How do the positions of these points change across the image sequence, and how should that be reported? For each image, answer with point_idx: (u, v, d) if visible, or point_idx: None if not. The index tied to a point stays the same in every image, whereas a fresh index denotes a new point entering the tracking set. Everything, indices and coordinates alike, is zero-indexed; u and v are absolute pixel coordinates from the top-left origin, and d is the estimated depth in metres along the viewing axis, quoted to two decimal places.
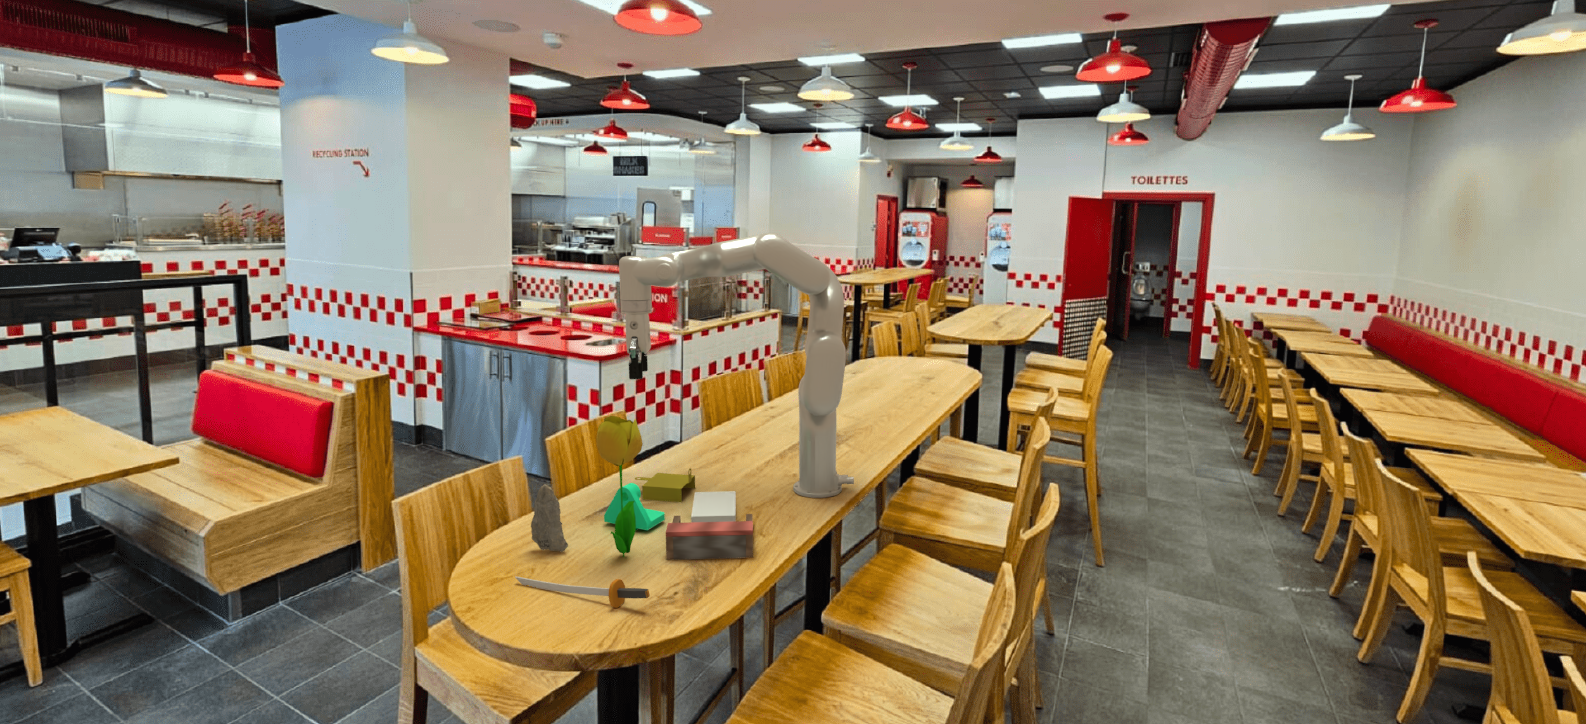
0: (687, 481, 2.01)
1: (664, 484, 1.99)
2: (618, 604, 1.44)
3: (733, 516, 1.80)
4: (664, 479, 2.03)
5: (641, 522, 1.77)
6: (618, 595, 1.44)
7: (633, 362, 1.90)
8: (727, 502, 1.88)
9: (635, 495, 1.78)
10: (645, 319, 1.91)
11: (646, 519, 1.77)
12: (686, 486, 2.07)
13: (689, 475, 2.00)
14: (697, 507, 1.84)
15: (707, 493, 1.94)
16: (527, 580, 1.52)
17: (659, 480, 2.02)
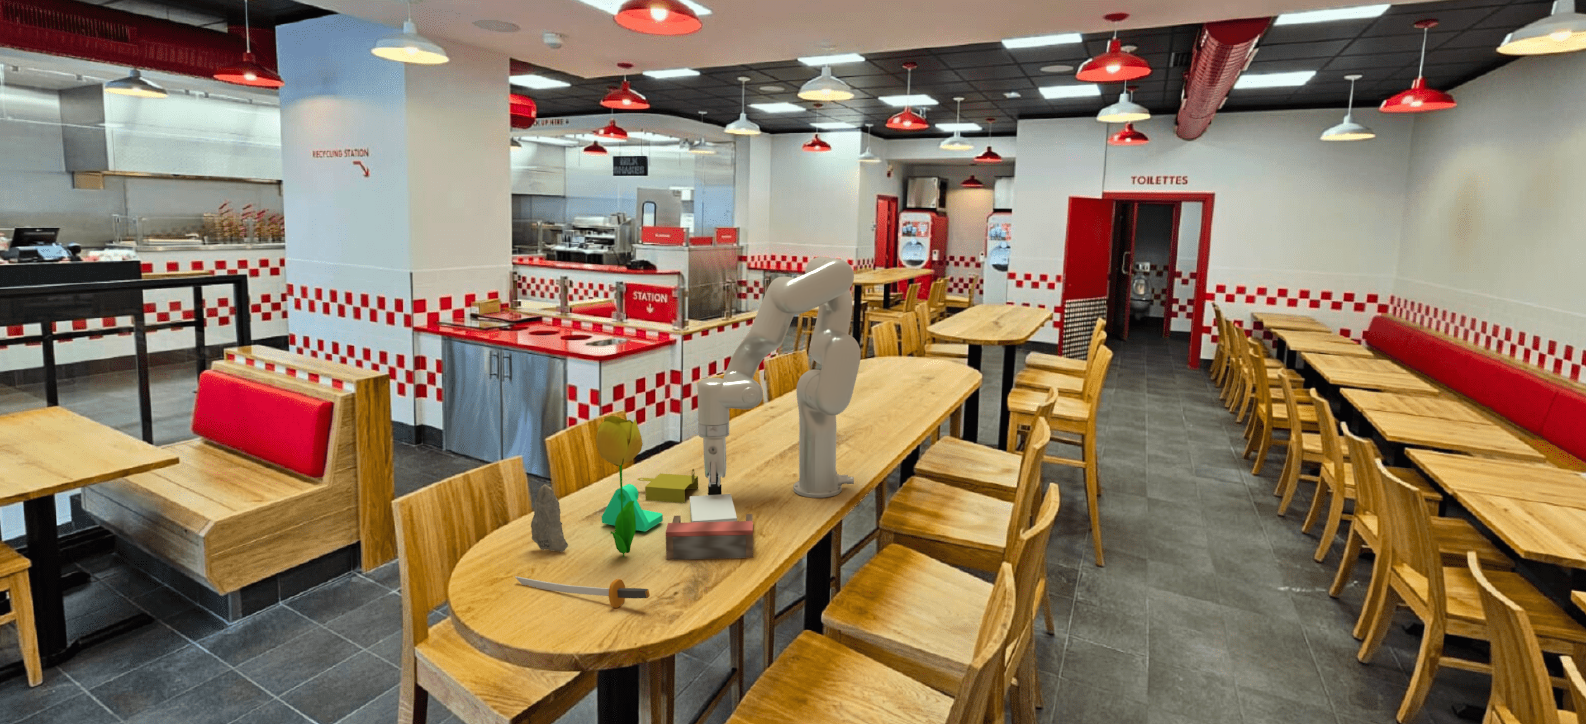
0: (690, 482, 2.01)
1: (667, 485, 1.98)
2: (618, 604, 1.44)
3: (735, 519, 1.78)
4: (667, 480, 2.02)
5: (639, 523, 1.76)
6: (618, 595, 1.44)
7: (713, 486, 1.93)
8: (725, 505, 1.86)
9: (633, 496, 1.77)
10: (723, 443, 1.90)
11: (644, 521, 1.76)
12: (689, 487, 2.06)
13: (692, 476, 2.00)
14: (696, 512, 1.82)
15: (702, 497, 1.91)
16: (527, 580, 1.52)
17: (662, 480, 2.02)
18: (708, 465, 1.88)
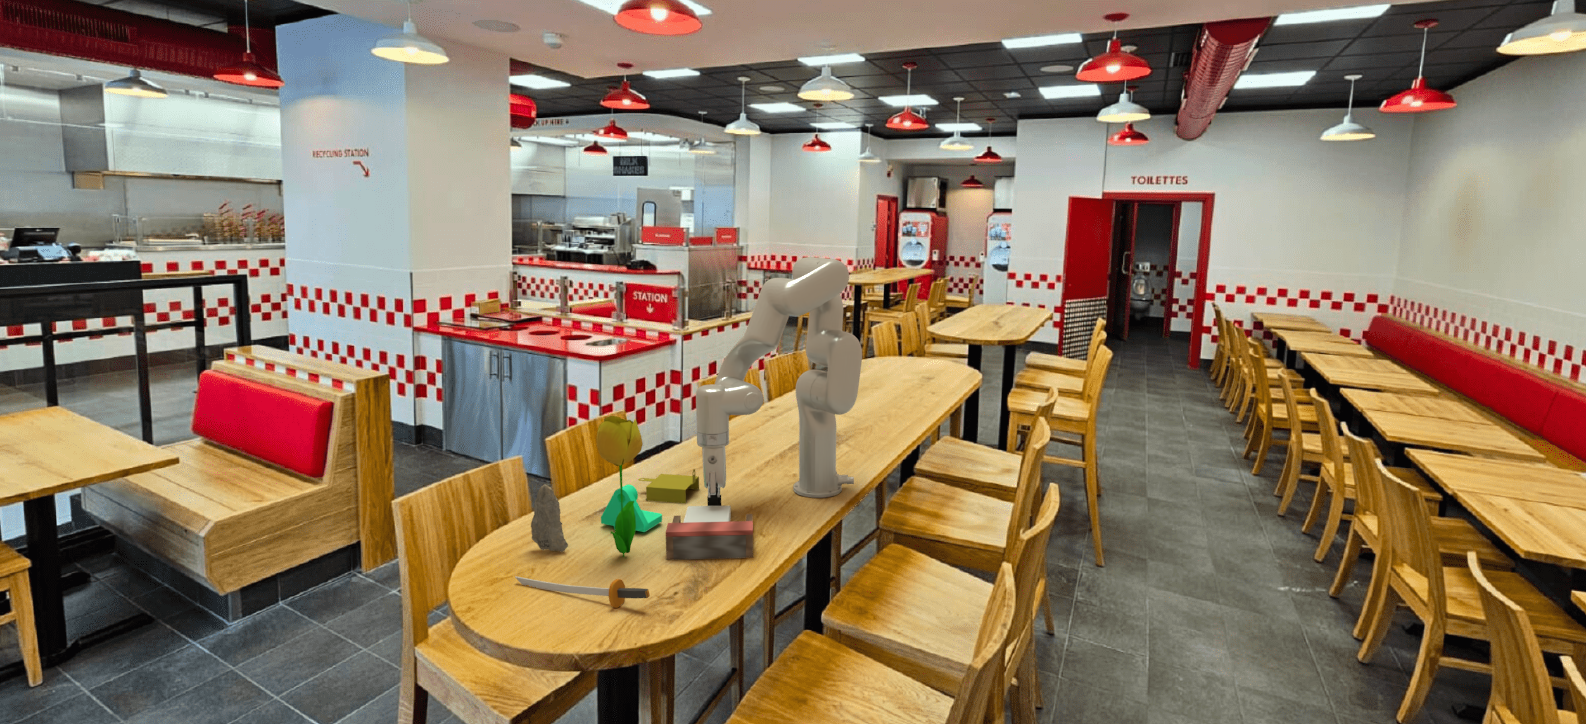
0: (691, 482, 2.00)
1: (668, 485, 1.98)
2: (618, 604, 1.44)
3: None
4: (667, 480, 2.02)
5: (638, 524, 1.76)
6: (618, 595, 1.44)
7: (712, 497, 1.86)
8: (720, 518, 1.78)
9: (632, 497, 1.77)
10: (723, 452, 1.83)
11: (643, 521, 1.76)
12: (690, 487, 2.06)
13: (693, 476, 1.99)
14: None
15: (700, 507, 1.85)
16: (527, 580, 1.52)
17: (663, 481, 2.01)
18: (707, 475, 1.81)
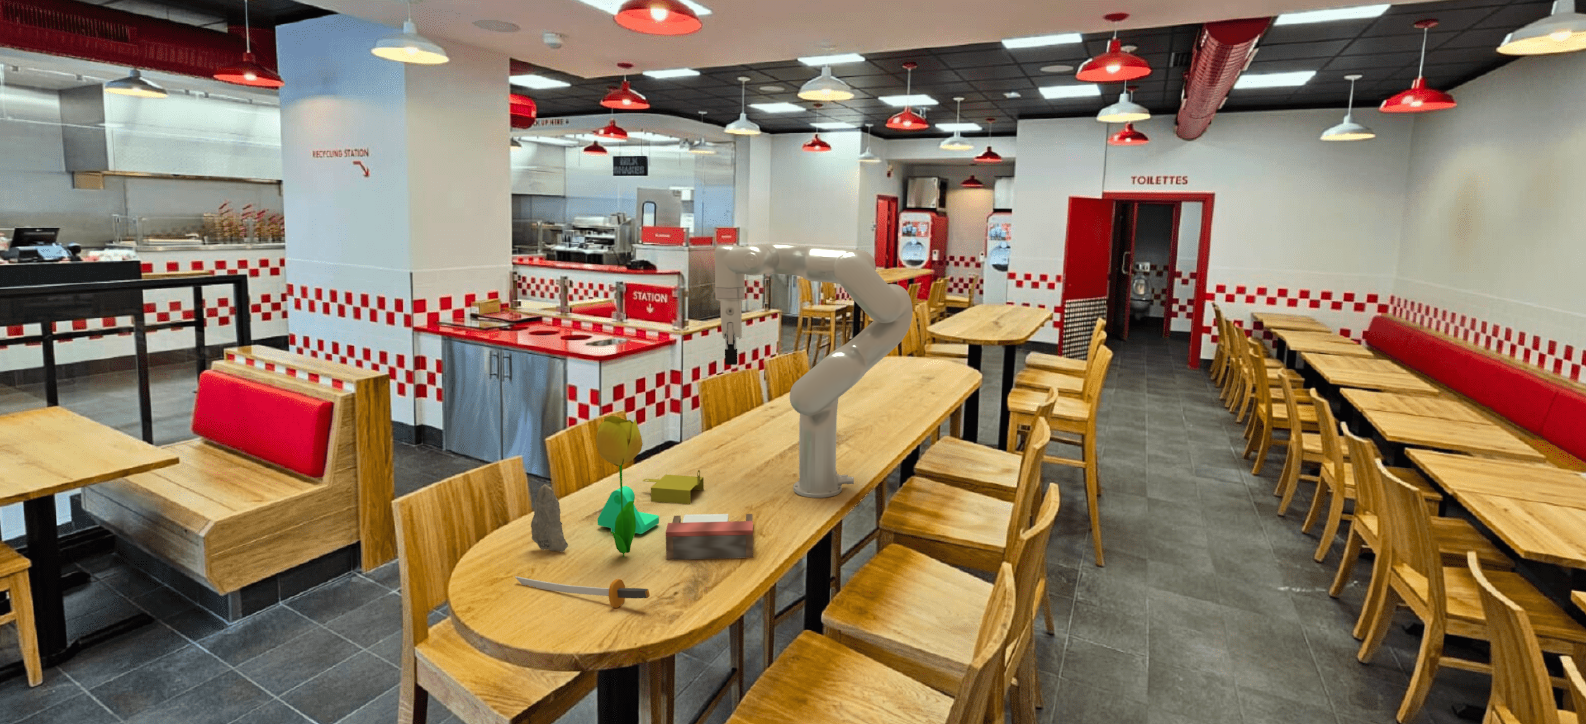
0: (696, 483, 2.00)
1: (673, 486, 1.97)
2: (618, 604, 1.44)
3: None
4: (672, 481, 2.01)
5: None
6: (618, 595, 1.44)
7: (729, 349, 2.03)
8: None
9: (629, 498, 1.76)
10: (740, 306, 2.00)
11: (640, 523, 1.75)
12: (694, 488, 2.06)
13: (698, 477, 1.99)
14: None
15: (697, 516, 1.79)
16: (527, 580, 1.52)
17: (668, 481, 2.01)
18: (725, 326, 1.99)
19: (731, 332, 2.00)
